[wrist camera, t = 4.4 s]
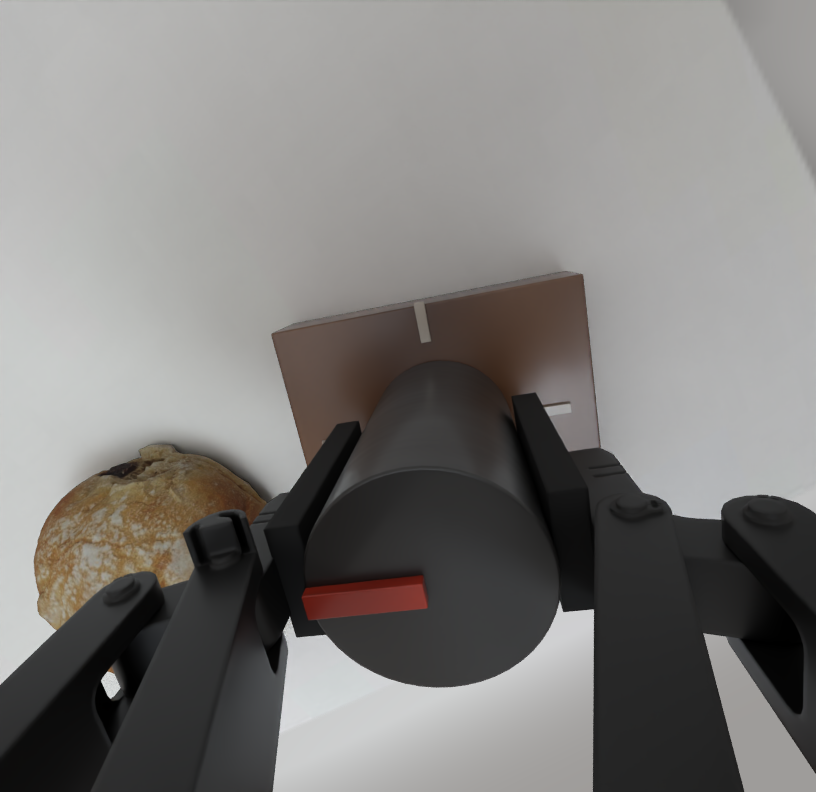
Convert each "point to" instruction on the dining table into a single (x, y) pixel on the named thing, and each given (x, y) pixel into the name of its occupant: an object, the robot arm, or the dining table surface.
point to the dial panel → (447, 354)
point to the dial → (434, 537)
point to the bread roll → (131, 526)
